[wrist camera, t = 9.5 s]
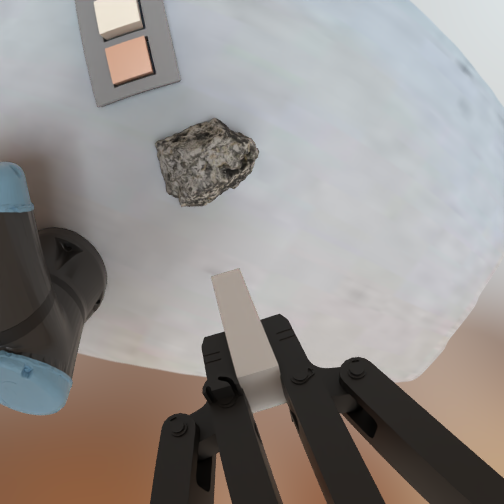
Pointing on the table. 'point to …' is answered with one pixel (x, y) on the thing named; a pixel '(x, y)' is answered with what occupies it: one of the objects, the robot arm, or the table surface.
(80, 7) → the grey socket tray
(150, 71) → the key terracotta
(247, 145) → the rock
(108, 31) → the key cream
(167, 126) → the table surface
